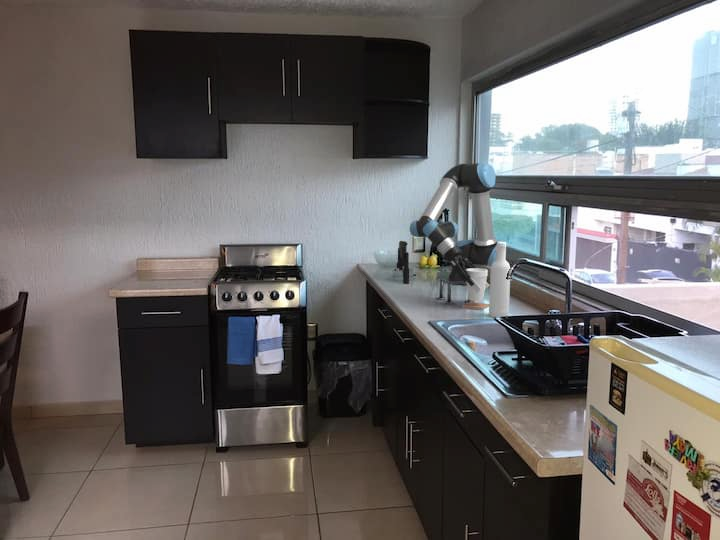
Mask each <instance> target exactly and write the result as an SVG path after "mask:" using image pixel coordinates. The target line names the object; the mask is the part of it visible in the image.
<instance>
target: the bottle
mask: <svg viewBox="0 0 720 540" xmlns="http://www.w3.org/2000/svg"><path fill="white" fill-rule="evenodd" d="M496 247H497V253H496V260H495V261H494V262H493V263H492V265H491V266H490V272H489V273H490V274H489V275H490V278H489V285H490V286H489V301H488V302H489V303H488V304H489V307H488V315H489V316H490V317H491V318H494V319H496V318H495V317H499V316H508V317H509V313H510V293H511V292H510V290H511V278H510V279H509V280H507V279H506V277H507V273H508V271H509V269H511V265H510V263H509V262H508V261H507V260H506V258H507V257H506V256H507V253H506V252H507V242H505V241H497V245H496Z"/></svg>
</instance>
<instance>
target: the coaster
mask: <svg viewBox="0 0 720 540" xmlns="http://www.w3.org/2000/svg"><path fill="white" fill-rule="evenodd" d="M461 308H462V309H471V310H480V311H483V310H485V309H487V308H489V303H483V302H477V301H474V302H468V303H464V304H461Z"/></svg>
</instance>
